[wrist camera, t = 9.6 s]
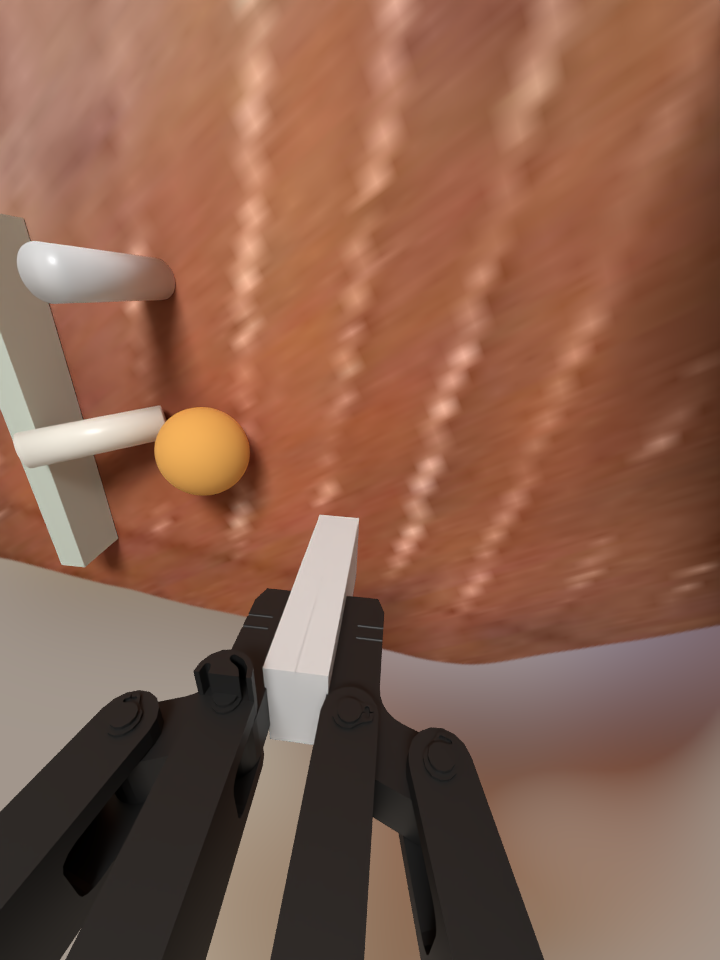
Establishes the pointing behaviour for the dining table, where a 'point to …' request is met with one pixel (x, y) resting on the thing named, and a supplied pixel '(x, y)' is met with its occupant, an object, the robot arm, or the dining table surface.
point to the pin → (88, 436)
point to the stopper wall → (46, 410)
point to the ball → (202, 451)
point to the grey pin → (91, 274)
